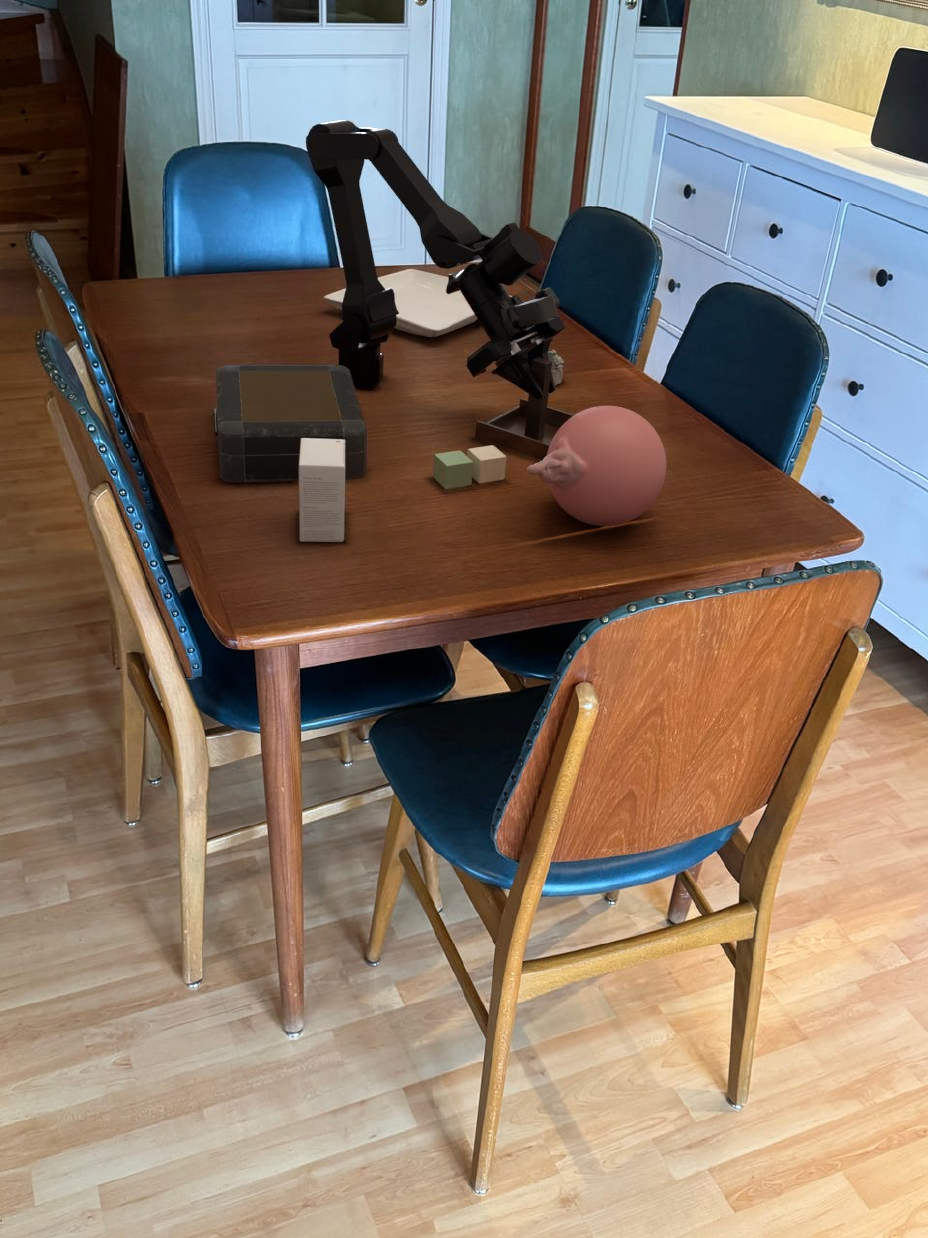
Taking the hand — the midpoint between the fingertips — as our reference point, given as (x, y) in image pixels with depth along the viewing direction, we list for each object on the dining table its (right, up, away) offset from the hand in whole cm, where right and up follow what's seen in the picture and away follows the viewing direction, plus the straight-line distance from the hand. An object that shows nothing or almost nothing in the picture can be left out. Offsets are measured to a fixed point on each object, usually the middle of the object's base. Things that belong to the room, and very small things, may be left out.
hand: (547, 394), depth 162 cm
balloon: (+4, -20, -16) cm, 26 cm away
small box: (-30, -22, -22) cm, 43 cm away
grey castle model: (+1, +9, +28) cm, 30 cm away
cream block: (-10, -11, -7) cm, 16 cm away
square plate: (-20, +26, +51) cm, 61 cm away
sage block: (-15, -12, -9) cm, 21 cm away
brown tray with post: (-2, -6, +5) cm, 8 cm away
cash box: (-38, -8, -3) cm, 39 cm away
